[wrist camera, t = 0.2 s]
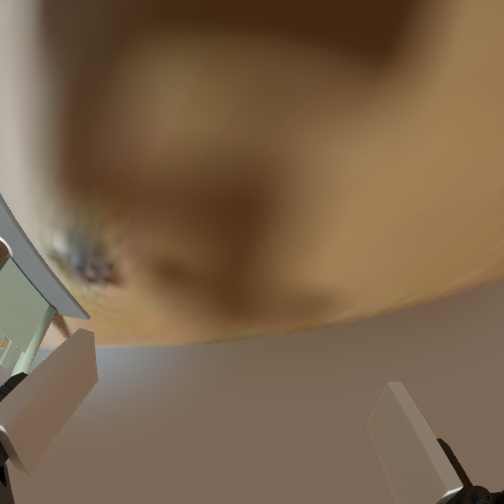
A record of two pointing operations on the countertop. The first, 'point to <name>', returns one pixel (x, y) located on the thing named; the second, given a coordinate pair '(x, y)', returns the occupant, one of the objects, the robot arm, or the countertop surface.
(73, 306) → the card
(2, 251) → the fence fixed
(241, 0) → the countertop surface
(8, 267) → the fence panel
